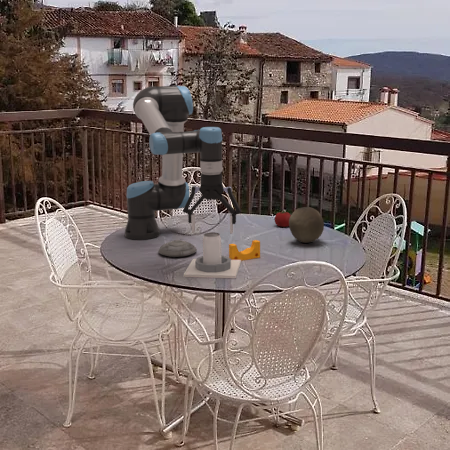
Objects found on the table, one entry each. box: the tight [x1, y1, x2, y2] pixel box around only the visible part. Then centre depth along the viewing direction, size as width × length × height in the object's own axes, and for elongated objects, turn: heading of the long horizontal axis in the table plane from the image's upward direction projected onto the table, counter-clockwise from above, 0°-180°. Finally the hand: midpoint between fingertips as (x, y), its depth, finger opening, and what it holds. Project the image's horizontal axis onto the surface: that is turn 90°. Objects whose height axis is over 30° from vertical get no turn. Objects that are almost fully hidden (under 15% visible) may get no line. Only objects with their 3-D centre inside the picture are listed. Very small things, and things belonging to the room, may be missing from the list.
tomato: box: [274, 210, 292, 228], centre depth 269 cm, size 8×8×7 cm
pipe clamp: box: [228, 239, 261, 262], centre depth 222 cm, size 12×4×6 cm, turn 118°
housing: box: [183, 254, 242, 279], centre depth 209 cm, size 18×18×4 cm
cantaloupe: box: [288, 206, 325, 244], centre depth 239 cm, size 14×14×15 cm
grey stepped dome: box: [158, 239, 198, 258], centre depth 230 cm, size 15×15×6 cm
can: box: [202, 231, 222, 265], centre depth 208 cm, size 6×6×12 cm
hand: (212, 232), depth 207 cm, fingers open, 13 cm apart
